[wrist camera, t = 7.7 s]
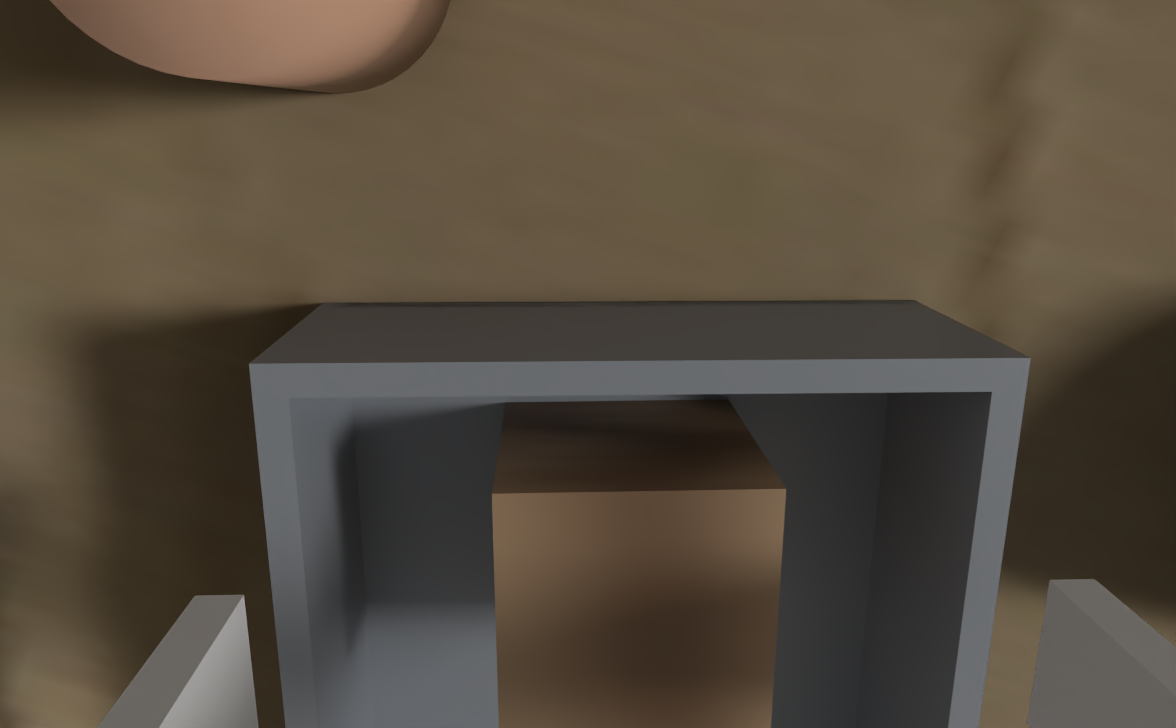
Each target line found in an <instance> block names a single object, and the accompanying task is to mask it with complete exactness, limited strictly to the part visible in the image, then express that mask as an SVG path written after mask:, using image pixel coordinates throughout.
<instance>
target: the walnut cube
mask: <svg viewBox="0 0 1176 728" xmlns="http://www.w3.org/2000/svg"><path fill="white" fill-rule="evenodd" d="M785 502H786V488H785V486H784V484H783V483H782V481H781V480H780V478H779V477H778V475H777V474H776V472H775V470H774V469H773V467H772V466H771V464H770V463H769V461H768V460H767V458H766V456H765V455H764V453H763V452H762V450H761V449H760V447H759V446H758V444H757V442H756V441H755V439H754V438H753V436H752V435H751V433H750V432H749V430H748V429H747V427H746V425H745V424H744V422H743V421H742V419H741V418H740V416H739V415H738V413H737V411H736V410H735V408H734V407H733V405H732V404H731V402H730V401H729V399H725V400H645V401H566V402H505V409H504V415H503V422H502V429H501V435H500V442H499V449H498V455H497V462H496V469H495V476H494V482H493V489H492V518H493V551H494V584H495V617H496V650H497V683H498V716H499V728H771V717H772V702H773V686H774V671H775V656H776V640H777V625H778V609H779V594H780V579H781V563H782V548H783V533H784V517H785Z"/></svg>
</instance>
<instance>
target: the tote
mask: <svg viewBox="0 0 1176 728" xmlns="http://www.w3.org/2000/svg"><path fill="white" fill-rule="evenodd" d="M1030 360H1031V358H1030V357H1028V356H1026V355H1024V354H1022V353H1020V352H1018V351H1016V350H1014V349H1012V348H1010V347H1008V346H1006V345H1004V344H1002V343H1000V342H998V341H996V340H994V339H992V338H990V337H988V336H986V335H984V334H982V333H980V332H977V331H975V330H973V329H971V328H969V327H967V326H965V325H963V324H961V323H959V322H957V321H955V320H953V319H951V318H949V317H947V316H945V315H943V314H941V313H939V312H937V311H935V310H933V309H931V308H929V307H927V306H925V305H923V304H921V303H919V302H917V301H915V300H897V301H677V302H456V303H322V304H321V305H320V306H319V307H317V308H316V309H315V310H314V311H312V312H311V313H310V314H309V315H308V316H306V317H305V318H304V319H303V320H301V321H300V322H299V323H298V324H297V325H295V326H294V327H293V328H292V329H291V330H289V331H288V332H287V333H286V334H284V335H283V336H282V337H281V338H280V339H278V340H277V341H276V342H275V343H273V344H272V345H271V346H270V347H269V348H267V349H266V350H265V351H264V352H262V353H261V354H260V355H259V356H258V357H256V358H255V359H254V360H253V361H251V362H250V363H249V371H250V381H251V391H252V401H253V410H254V420H255V430H256V440H257V450H258V460H259V470H260V480H261V490H262V500H263V509H264V519H265V529H266V539H267V549H268V559H269V569H270V579H271V589H272V599H273V608H274V618H275V628H276V638H277V648H278V658H279V668H280V678H281V688H282V697H283V707H284V717H285V727H286V728H499V716H498V683H497V650H496V617H495V584H494V551H493V518H492V489H493V482H494V476H495V469H496V462H497V455H498V449H499V442H500V435H501V429H502V422H503V415H504V409H505V402H566V401H645V400H725V399H729V401H730V402H731V404H732V405H733V407H734V408H735V410H736V411H737V413H738V415H739V416H740V418H741V419H742V421H743V422H744V424H745V425H746V427H747V429H748V430H749V432H750V433H751V435H752V436H753V438H754V439H755V441H756V442H757V444H758V446H759V447H760V449H761V450H762V452H763V453H764V455H765V456H766V458H767V460H768V461H769V463H770V464H771V466H772V467H773V469H774V470H775V472H776V474H777V475H778V477H779V478H780V480H781V481H782V483H783V484H784V486H785V488H786V502H785V517H784V533H783V548H782V563H781V579H780V594H779V609H778V625H777V640H776V656H775V671H774V686H773V702H772V717H771V728H978V727H979V720H980V713H981V706H982V699H983V692H984V685H985V678H986V671H987V664H988V657H989V649H990V642H991V635H992V628H993V621H994V614H995V607H996V600H997V593H998V586H999V579H1000V572H1001V565H1002V558H1003V551H1004V544H1005V537H1006V530H1007V522H1008V515H1009V508H1010V501H1011V494H1012V487H1013V480H1014V473H1015V466H1016V459H1017V452H1018V445H1019V438H1020V431H1021V424H1022V417H1023V410H1024V403H1025V395H1026V388H1027V381H1028V374H1029V367H1030Z"/></svg>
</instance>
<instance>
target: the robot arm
mask: <svg viewBox="0 0 1176 728" xmlns="http://www.w3.org/2000/svg"><path fill="white" fill-rule="evenodd" d="M1027 723H1028V724H1029V726H1030V727H1031V728H1176V647H1175V646H1174V645H1173V644H1171V643H1170V642H1169V641H1168V640H1167V639H1165V638H1164V637H1163V636H1162V635H1161V634H1159V633H1158V632H1157V631H1156V630H1155V629H1154V628H1152V627H1151V626H1150V625H1149V624H1148V623H1146V622H1145V621H1144V620H1143V619H1142V618H1140V617H1139V616H1138V615H1137V614H1136V613H1135V612H1133V611H1132V610H1131V609H1130V608H1129V607H1127V606H1126V605H1125V604H1124V603H1123V602H1121V601H1120V600H1119V599H1118V598H1117V597H1116V596H1114V595H1113V594H1112V593H1111V592H1110V591H1108V590H1107V589H1106V588H1105V587H1104V586H1102V585H1101V584H1100V583H1099V582H1098V581H1097V580H1095V579H1065V580H1049V587H1048V593H1047V599H1046V606H1045V612H1044V618H1043V625H1042V631H1041V637H1040V643H1039V650H1038V656H1037V662H1036V669H1035V675H1034V681H1033V688H1032V694H1031V700H1030V707H1029V713H1028V719H1027ZM97 728H259V727H258V718H257V709H256V700H255V691H254V682H253V672H252V663H251V654H250V645H249V636H248V627H247V618H246V609H245V600H244V595H197V596H194V597H193V599H192V600H191V601H190V603H189V604H188V606H187V607H186V608H185V610H184V611H183V612H182V614H181V615H180V616H179V618H178V619H177V620H176V622H175V623H174V624H173V626H172V627H171V629H170V630H169V631H168V633H167V634H166V635H165V637H164V638H163V639H162V641H161V642H160V643H159V645H158V646H157V647H156V649H155V650H154V651H153V653H152V654H151V656H150V657H149V658H148V660H147V661H146V662H145V664H144V665H143V666H142V668H141V669H140V670H139V672H138V673H137V674H136V676H135V677H134V679H133V680H132V681H131V683H130V684H129V685H128V687H127V688H126V689H125V691H124V692H123V693H122V695H121V696H120V697H119V699H118V700H117V701H116V703H115V704H114V706H113V707H112V708H111V710H110V711H109V712H108V714H107V715H106V716H105V718H104V719H103V720H102V722H101V723H100V724H99V726H98V727H97Z"/></svg>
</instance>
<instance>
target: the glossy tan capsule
mask: <svg viewBox="0 0 1176 728" xmlns="http://www.w3.org/2000/svg"><path fill="white" fill-rule="evenodd" d="M50 1H51V2H52V3H53V4H54V5H55V6H56V7H57V9H58V10H59V11H60V12H61V13H62V14H63V15H64V16H65V17H66V18H67V19H68V20H70V21H71V22H72V23H73V24H75V25H76V26H77V27H78V28H80V29H81V30H82V31H83V32H84V33H86V34H87V35H88V36H89V37H91V38H92V39H94V40H96V41H97V42H99V43H100V44H102V45H103V46H105V47H106V48H108V49H110V50H111V51H113V52H115V53H117V54H119V55H121V56H123V57H125V58H127V59H129V60H131V61H133V62H135V63H137V64H140V65H143V66H146V67H149V68H152V69H155V70H158V71H161V72H164V73H169V74H174V75H178V76H183V77H188V78H197V79H206V80H215V81H223V82H232V83H241V84H250V85H259V86H268V87H277V88H286V89H295V90H304V91H313V92H322V93H336V94H338V93H353V92H358V91H363V90H368V89H371V88H373V87H376V86H379V85H382V84H384V83H386V82H388V81H390V80H392V79H394V78H396V77H397V76H399V75H400V74H401V73H403V72H404V71H406V70H407V69H408V68H410V67H411V66H412V65H413V64H414V63H415V62H416V61H417V60H418V59H419V58H420V57H421V56H422V55H423V54H424V52H425V51H426V50H427V49H428V47H429V46H430V45H431V44H432V42H433V40H434V39H435V37H436V35H437V33H438V32H439V30H440V28H441V25H442V23H443V21H444V19H445V16H446V13H447V10H448V6H449V3H450V0H50Z"/></svg>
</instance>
